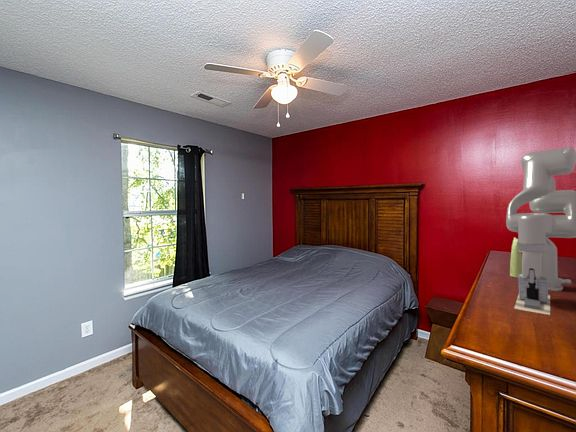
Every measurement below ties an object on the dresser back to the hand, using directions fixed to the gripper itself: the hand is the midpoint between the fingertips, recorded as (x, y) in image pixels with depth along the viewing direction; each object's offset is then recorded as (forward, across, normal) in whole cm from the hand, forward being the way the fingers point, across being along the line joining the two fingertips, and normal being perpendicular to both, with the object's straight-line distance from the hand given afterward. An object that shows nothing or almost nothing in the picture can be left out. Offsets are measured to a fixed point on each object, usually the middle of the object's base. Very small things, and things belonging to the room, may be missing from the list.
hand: (533, 296), depth 101 cm
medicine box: (+1, 0, 0) cm, 1 cm away
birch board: (+3, +2, 0) cm, 3 cm away
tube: (+3, -42, -8) cm, 43 cm away
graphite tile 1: (+1, +8, 0) cm, 8 cm away
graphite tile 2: (+1, +4, 0) cm, 4 cm away
